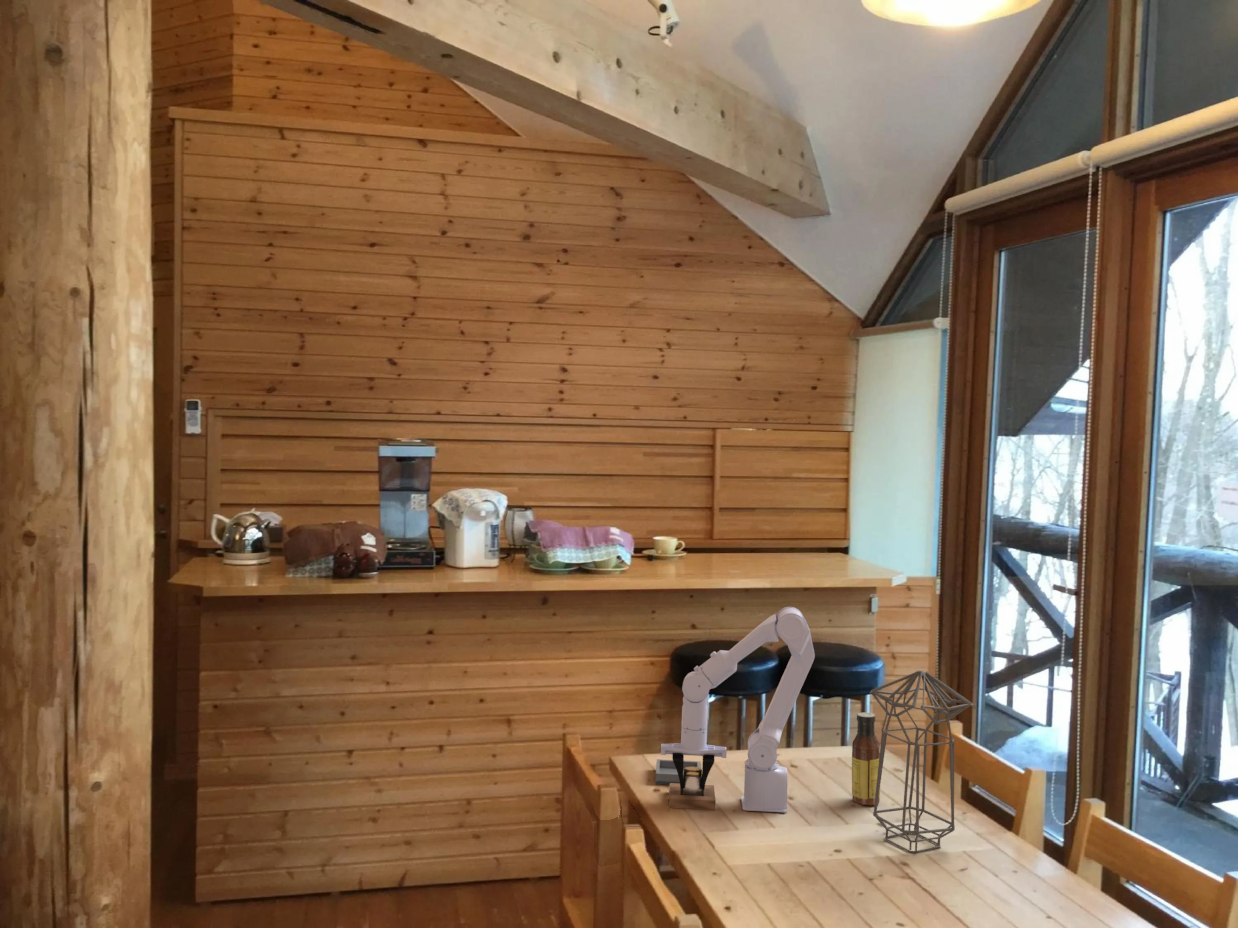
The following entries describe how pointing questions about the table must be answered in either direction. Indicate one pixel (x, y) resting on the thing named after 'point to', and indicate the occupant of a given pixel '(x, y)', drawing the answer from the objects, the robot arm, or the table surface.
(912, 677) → the geometric lantern
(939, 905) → the table surface
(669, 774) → the tray
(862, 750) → the sauce bottle
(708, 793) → the block
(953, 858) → the table surface
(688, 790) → the gold and silver cylinder
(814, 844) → the table surface
